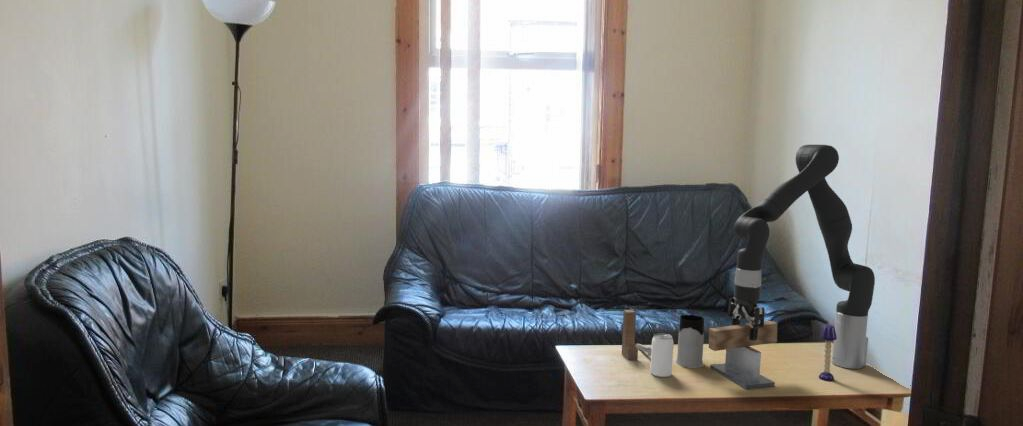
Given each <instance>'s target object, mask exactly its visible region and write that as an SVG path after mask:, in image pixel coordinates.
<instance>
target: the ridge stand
mask: <svg viewBox="0 0 1023 426" xmlns="http://www.w3.org/2000/svg"><path fill="white" fill-rule="evenodd" d="M761 359H762V351H760V350H757V349H756V348H753V347H752V346H747V347H740V348H733V349H725V361H724V362H725V363H715V364H710V365H709V366H710V367H709V368H710V369H711V370H712V371H714V372H716V373H717V374H719V375H721V376H723V377H724V378H726V379H727V380H730V381H731V382H733V383H734V384H736V385H738V386H740V388H741V387H742V389H744V390H752V389H761V388H762V389H763V388H774V387H776V386H775V385H776V382H775V381H773V380H772V379H769V378H768V377H766V376H764V375H762V374H760V373H761V361H762V360H761Z"/></svg>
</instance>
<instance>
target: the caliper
mask: <svg viewBox="0 0 1023 426" xmlns="http://www.w3.org/2000/svg"><path fill="white" fill-rule="evenodd" d="M635 345H636V347H637V348H638V350H641V351H643V352H645V353H647V356H649V357H651V349H652V346H646V345H643V344H641V343H635Z"/></svg>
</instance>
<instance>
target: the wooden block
mask: <svg viewBox="0 0 1023 426" xmlns="http://www.w3.org/2000/svg"><path fill="white" fill-rule="evenodd" d="M622 317H623V319H622V333H621V334H622V335H621V336H622V337H621V340H622V341H621V355H623V357H624V358H626V360H628V361H637V360H638V358H639V349H638V348H637V347H636V320H637V312H636V311H635V310H634V309H623V315H622Z"/></svg>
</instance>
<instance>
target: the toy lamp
mask: <svg viewBox="0 0 1023 426" xmlns="http://www.w3.org/2000/svg"><path fill="white" fill-rule="evenodd" d="M819 337H820V339H821V340H824V342H825V344H824V348H825V349H824V359H823V361H824V363H823V371H822V372H820V374H819V375H818V379H820V380H822V381H827V382H833V381H835V377H834V374H832V373H831V363H832V358H831V357H832V353H831V352H832V342H834V340H836V339H837V336H836V331H835V325H833V324H824V325H823V326H822V329H821V331H820V335H819Z"/></svg>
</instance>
